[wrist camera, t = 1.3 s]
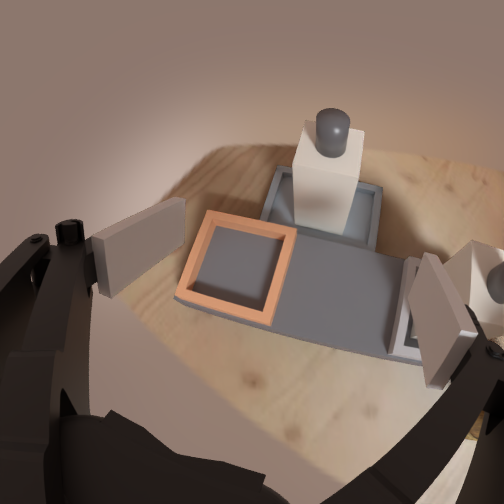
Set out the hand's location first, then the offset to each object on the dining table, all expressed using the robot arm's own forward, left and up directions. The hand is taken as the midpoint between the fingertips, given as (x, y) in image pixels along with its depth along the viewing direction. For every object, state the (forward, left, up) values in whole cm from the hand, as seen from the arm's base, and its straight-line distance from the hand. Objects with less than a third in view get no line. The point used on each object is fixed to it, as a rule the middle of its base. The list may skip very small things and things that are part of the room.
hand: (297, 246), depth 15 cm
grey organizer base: (-4, -1, -14) cm, 15 cm away
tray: (0, -10, -14) cm, 18 cm away
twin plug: (-13, -1, -11) cm, 17 cm away
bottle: (0, -10, -14) cm, 17 cm away
